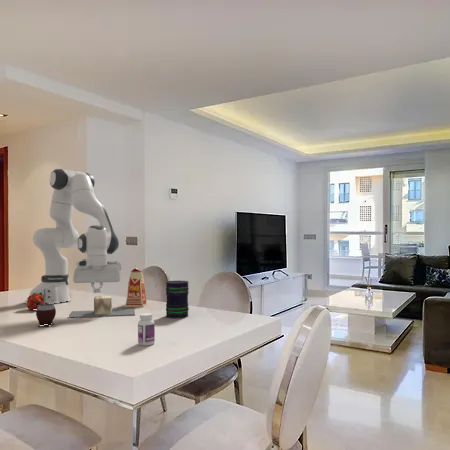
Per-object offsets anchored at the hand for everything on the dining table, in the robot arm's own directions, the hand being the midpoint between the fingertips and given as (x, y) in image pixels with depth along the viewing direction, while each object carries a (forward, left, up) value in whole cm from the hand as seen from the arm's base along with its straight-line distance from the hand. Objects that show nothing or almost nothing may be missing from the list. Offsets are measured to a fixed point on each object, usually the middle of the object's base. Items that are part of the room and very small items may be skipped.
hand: (97, 292), depth 189 cm
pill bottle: (+19, -57, -10) cm, 61 cm away
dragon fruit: (-29, +17, -10) cm, 35 cm away
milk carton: (+17, +19, -10) cm, 28 cm away
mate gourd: (-18, -21, -10) cm, 29 cm away
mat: (+2, 0, -10) cm, 10 cm away
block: (-1, 0, -6) cm, 6 cm away
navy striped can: (+34, -13, -10) cm, 38 cm away
